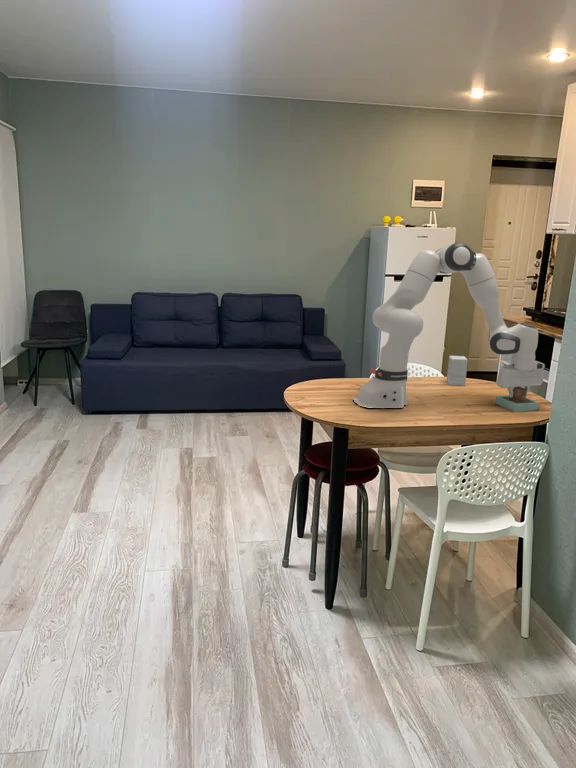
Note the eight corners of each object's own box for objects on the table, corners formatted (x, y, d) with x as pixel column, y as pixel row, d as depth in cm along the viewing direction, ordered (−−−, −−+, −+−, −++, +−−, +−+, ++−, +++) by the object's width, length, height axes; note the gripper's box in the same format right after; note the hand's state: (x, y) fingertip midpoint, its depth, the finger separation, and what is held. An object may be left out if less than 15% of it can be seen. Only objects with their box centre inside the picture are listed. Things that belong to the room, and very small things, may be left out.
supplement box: (462, 382, 273) (465, 356, 270) (465, 386, 266) (468, 359, 263) (446, 381, 274) (448, 355, 271) (448, 385, 267) (451, 358, 263)
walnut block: (516, 403, 234) (518, 390, 233) (508, 399, 238) (510, 387, 237) (525, 402, 236) (527, 389, 234) (517, 399, 240) (519, 386, 238)
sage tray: (514, 412, 230) (515, 405, 230) (494, 403, 241) (495, 396, 240) (538, 410, 234) (539, 403, 233) (518, 401, 245) (519, 394, 244)
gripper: (506, 366, 227) (501, 400, 230) (548, 364, 233) (543, 397, 237) (495, 363, 232) (491, 396, 236) (537, 361, 239) (532, 393, 243)
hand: (517, 396), depth 237 cm, fingers closed on walnut block, 4 cm apart
